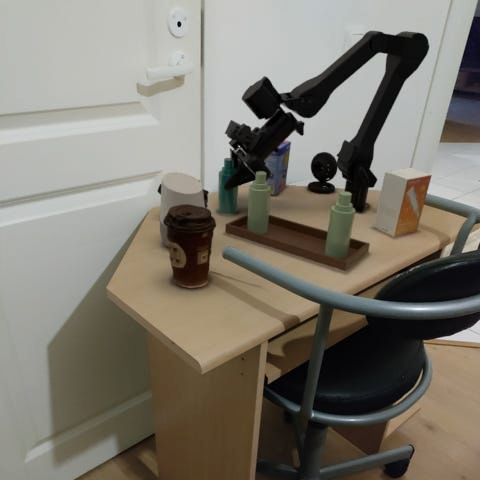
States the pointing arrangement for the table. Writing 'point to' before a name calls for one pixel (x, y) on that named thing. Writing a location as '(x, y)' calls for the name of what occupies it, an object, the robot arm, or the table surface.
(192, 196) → the smart speaker
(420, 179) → the small box
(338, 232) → the sage bottle
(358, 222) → the table surface
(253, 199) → the sage bottle
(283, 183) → the ink cartridge box
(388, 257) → the table surface
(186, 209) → the coffee cup
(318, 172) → the webcam
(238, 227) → the tray
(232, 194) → the teal bottle
